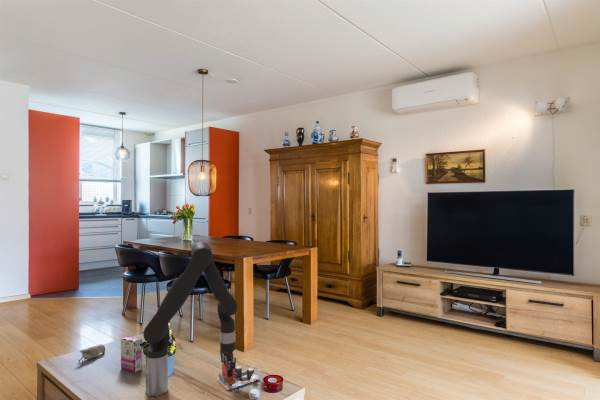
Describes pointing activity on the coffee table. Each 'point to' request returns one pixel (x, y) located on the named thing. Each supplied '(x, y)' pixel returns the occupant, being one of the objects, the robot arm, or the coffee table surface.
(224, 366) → the cap
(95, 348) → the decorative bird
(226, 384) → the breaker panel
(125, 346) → the candy bar box
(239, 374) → the toggle
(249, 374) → the toggle
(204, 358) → the coffee table surface
